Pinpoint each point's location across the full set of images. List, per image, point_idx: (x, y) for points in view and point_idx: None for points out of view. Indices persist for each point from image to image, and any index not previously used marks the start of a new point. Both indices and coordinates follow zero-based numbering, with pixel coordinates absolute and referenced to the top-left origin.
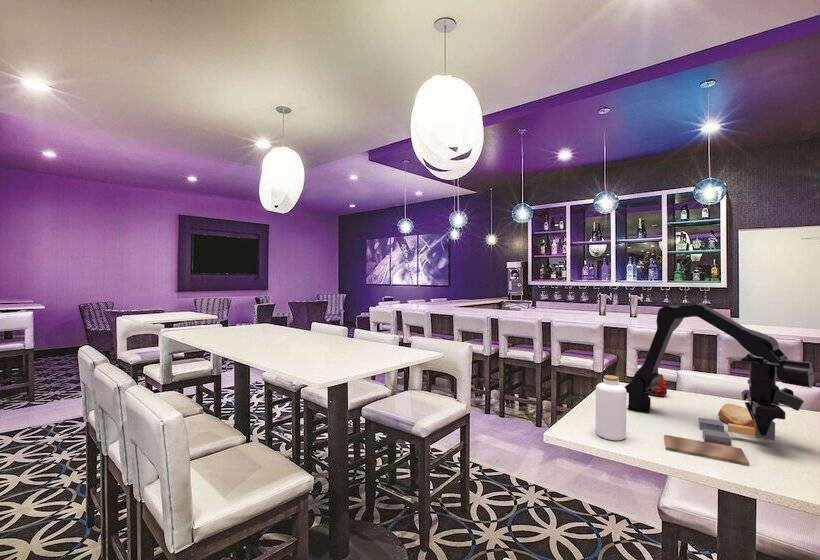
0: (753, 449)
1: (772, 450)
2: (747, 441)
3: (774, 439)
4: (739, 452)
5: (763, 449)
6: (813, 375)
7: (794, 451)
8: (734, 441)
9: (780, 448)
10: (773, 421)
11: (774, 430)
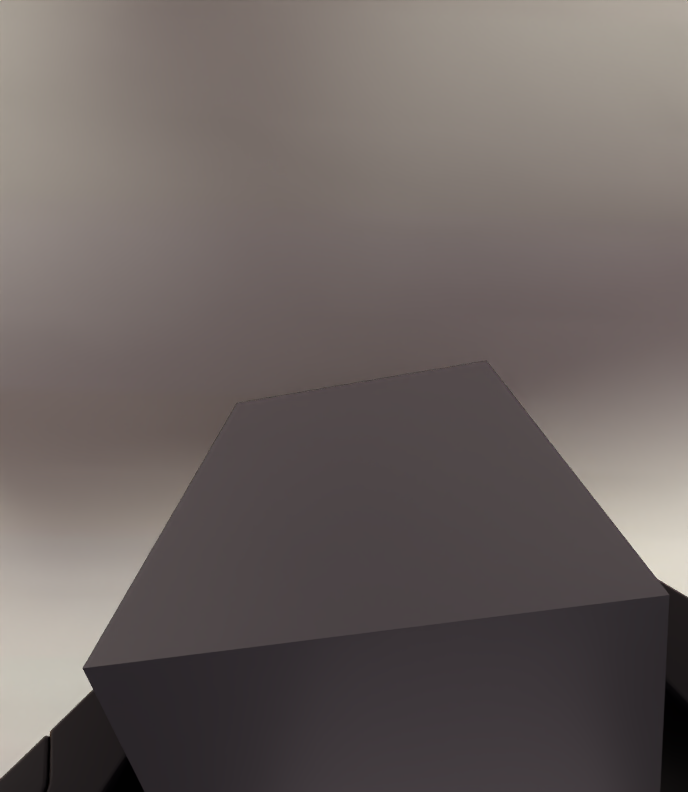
0: (670, 524)
1: (574, 351)
2: None
3: (495, 372)
4: None
5: (601, 438)
6: None
7: (417, 82)
8: None
9: (410, 260)
10: (422, 629)
11: (556, 456)
